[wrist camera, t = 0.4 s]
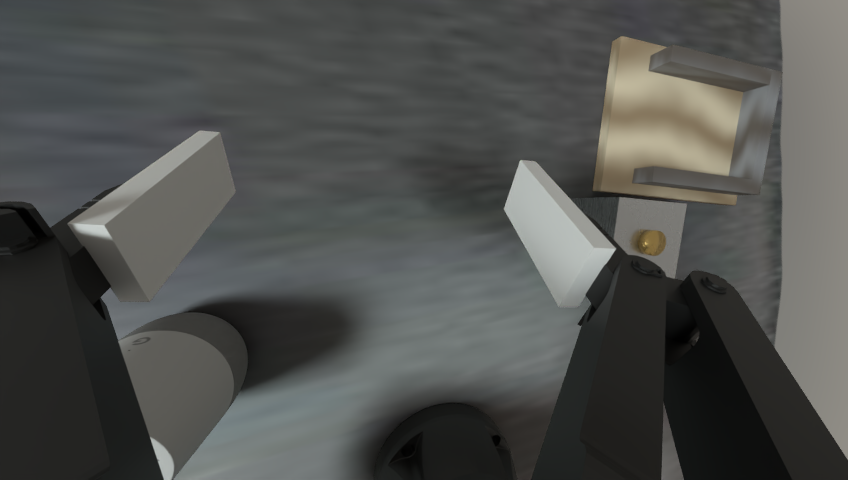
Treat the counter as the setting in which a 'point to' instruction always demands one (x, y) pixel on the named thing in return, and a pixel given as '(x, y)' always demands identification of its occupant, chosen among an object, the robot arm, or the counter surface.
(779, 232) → the counter surface
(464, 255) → the counter surface
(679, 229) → the lock block
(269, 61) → the counter surface
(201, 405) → the smart speaker
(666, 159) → the board
